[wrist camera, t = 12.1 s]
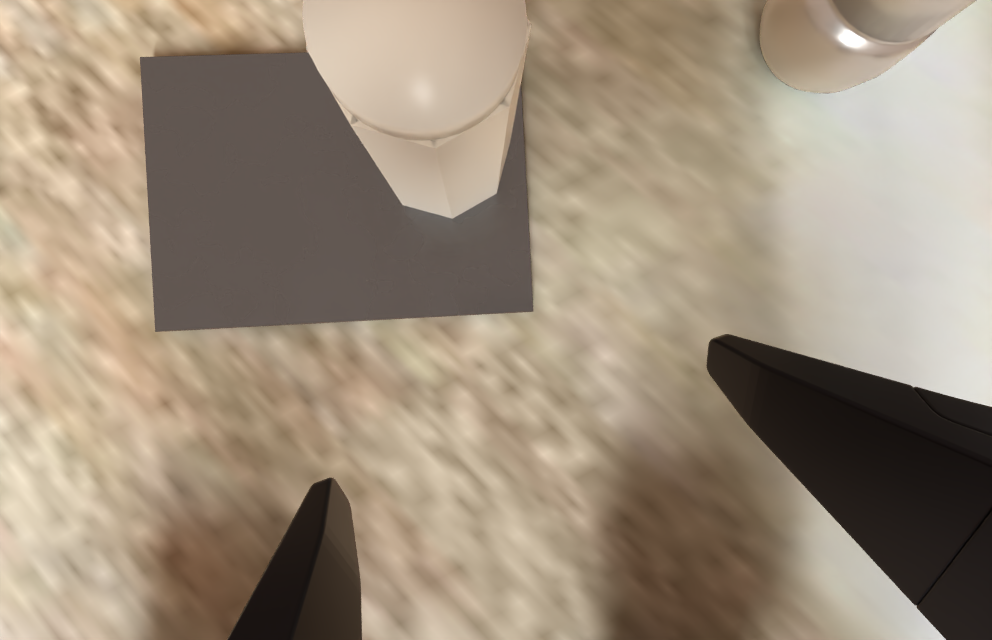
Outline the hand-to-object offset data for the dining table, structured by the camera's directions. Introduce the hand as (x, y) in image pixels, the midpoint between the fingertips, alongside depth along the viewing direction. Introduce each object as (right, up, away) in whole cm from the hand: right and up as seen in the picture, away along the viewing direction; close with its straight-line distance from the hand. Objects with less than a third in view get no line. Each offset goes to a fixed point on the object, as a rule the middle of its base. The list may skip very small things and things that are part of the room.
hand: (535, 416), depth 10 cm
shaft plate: (-8, +9, +12) cm, 17 cm away
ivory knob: (-3, +10, +11) cm, 16 cm away
